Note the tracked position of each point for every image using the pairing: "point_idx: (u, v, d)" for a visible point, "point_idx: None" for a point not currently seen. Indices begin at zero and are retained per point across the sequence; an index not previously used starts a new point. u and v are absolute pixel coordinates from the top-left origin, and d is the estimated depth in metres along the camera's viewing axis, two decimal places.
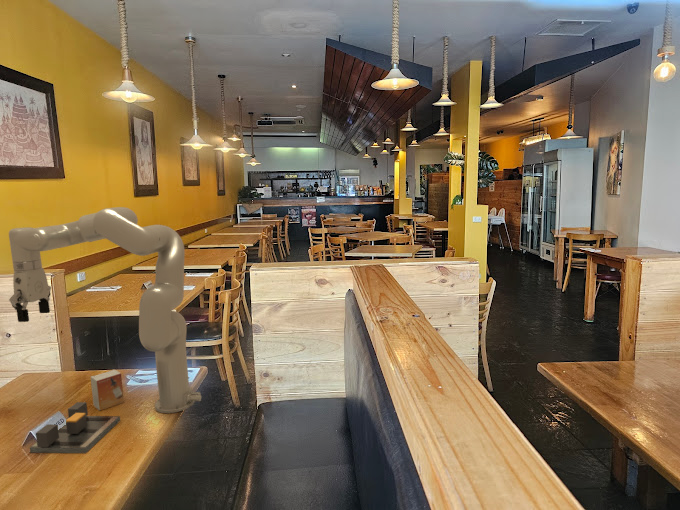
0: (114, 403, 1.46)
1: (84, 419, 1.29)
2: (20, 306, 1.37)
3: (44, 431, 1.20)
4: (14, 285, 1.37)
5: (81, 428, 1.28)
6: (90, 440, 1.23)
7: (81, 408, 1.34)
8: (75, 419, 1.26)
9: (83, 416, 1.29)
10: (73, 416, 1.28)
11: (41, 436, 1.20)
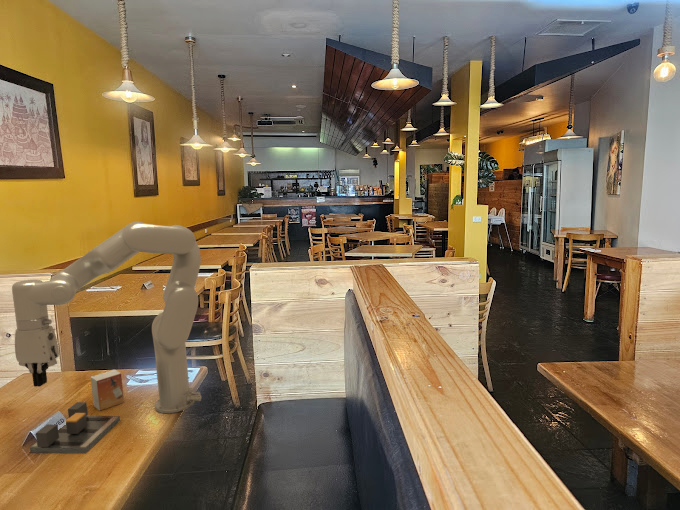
0: (114, 403, 1.46)
1: (84, 419, 1.29)
2: None
3: (44, 431, 1.20)
4: (47, 343, 1.23)
5: (81, 428, 1.28)
6: (90, 440, 1.23)
7: (81, 408, 1.34)
8: (75, 419, 1.26)
9: (83, 416, 1.29)
10: (73, 416, 1.28)
11: (41, 436, 1.20)
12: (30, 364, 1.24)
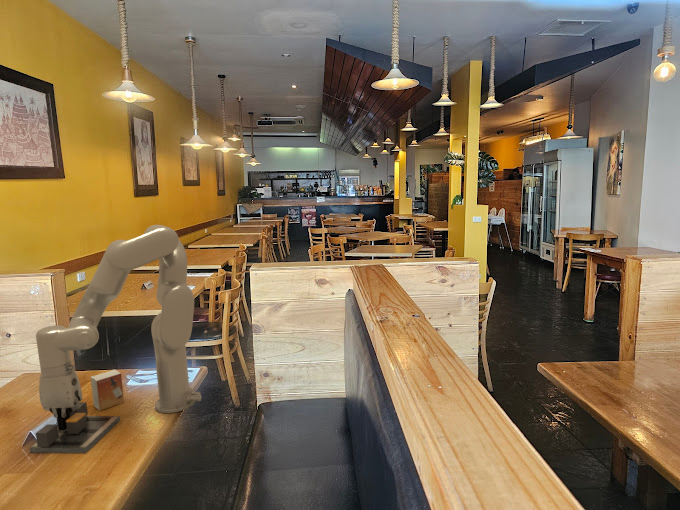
0: (114, 403, 1.46)
1: (84, 419, 1.29)
2: None
3: (44, 431, 1.20)
4: (71, 388, 1.25)
5: (81, 428, 1.28)
6: (90, 440, 1.23)
7: (81, 408, 1.34)
8: (75, 419, 1.26)
9: (83, 416, 1.29)
10: (73, 416, 1.28)
11: (41, 436, 1.20)
12: (54, 409, 1.26)
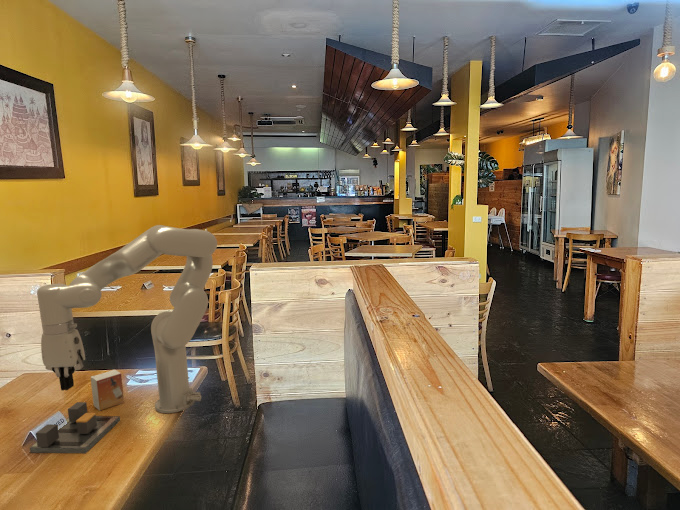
0: (114, 403, 1.46)
1: (94, 419, 1.29)
2: None
3: (44, 431, 1.20)
4: (73, 347, 1.23)
5: (91, 428, 1.28)
6: (90, 440, 1.23)
7: (81, 408, 1.34)
8: (85, 419, 1.26)
9: (93, 416, 1.29)
10: (83, 416, 1.28)
11: (41, 436, 1.20)
12: (57, 368, 1.24)
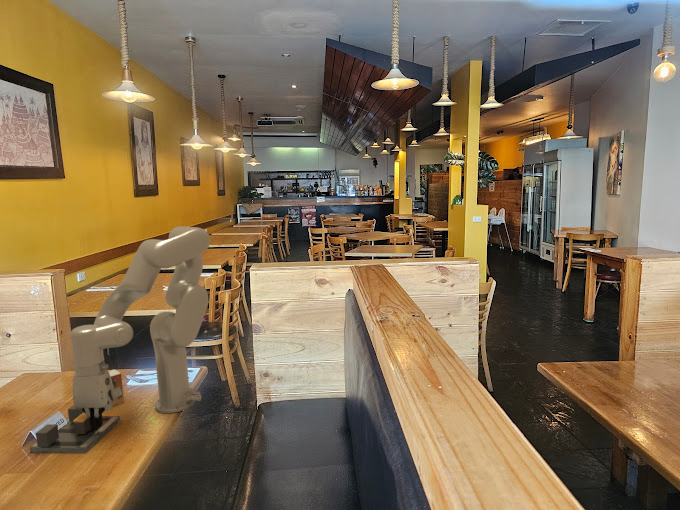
0: (114, 403, 1.46)
1: None
2: None
3: (44, 431, 1.20)
4: (105, 388, 1.24)
5: (88, 428, 1.28)
6: (90, 440, 1.23)
7: None
8: (82, 419, 1.26)
9: None
10: (80, 416, 1.28)
11: (41, 436, 1.20)
12: (87, 408, 1.26)
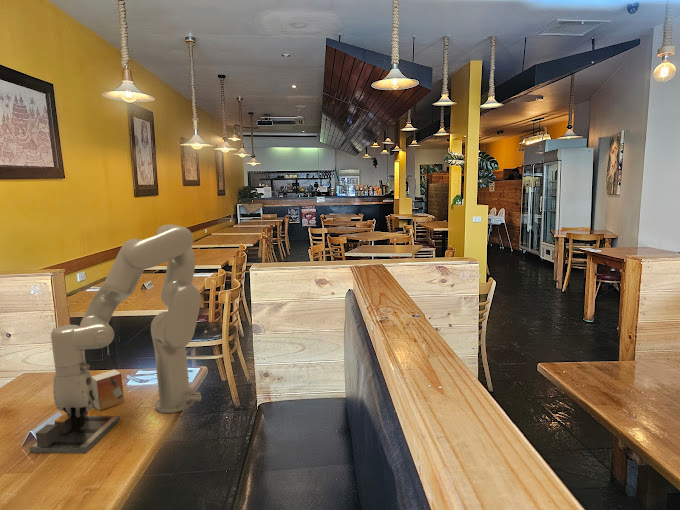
0: (114, 403, 1.46)
1: None
2: None
3: (44, 431, 1.20)
4: (85, 388, 1.25)
5: (70, 428, 1.28)
6: (90, 440, 1.23)
7: None
8: (64, 419, 1.26)
9: None
10: (62, 416, 1.28)
11: (41, 436, 1.20)
12: (68, 408, 1.26)
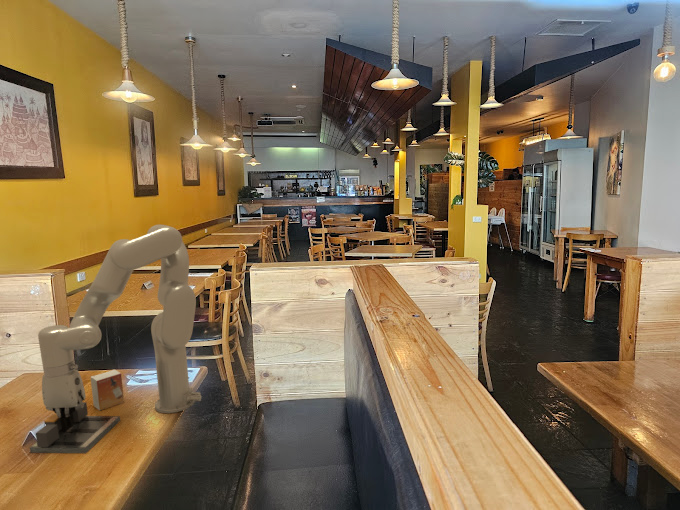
0: (114, 403, 1.46)
1: None
2: None
3: (44, 431, 1.20)
4: (74, 388, 1.25)
5: (60, 428, 1.28)
6: (90, 440, 1.23)
7: None
8: (53, 419, 1.27)
9: None
10: (52, 416, 1.28)
11: (41, 436, 1.20)
12: (58, 409, 1.26)
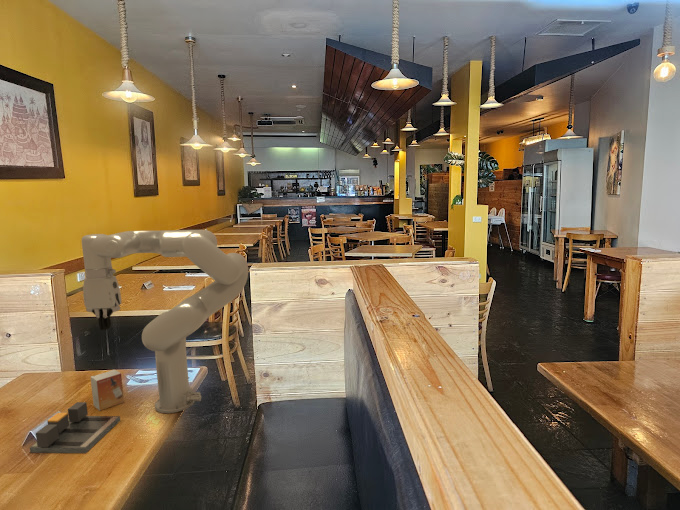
0: (114, 403, 1.46)
1: (66, 419, 1.30)
2: None
3: (44, 431, 1.20)
4: (112, 290, 1.38)
5: (63, 428, 1.28)
6: (90, 440, 1.23)
7: (81, 408, 1.34)
8: (57, 419, 1.27)
9: (65, 416, 1.29)
10: (55, 416, 1.28)
11: (41, 436, 1.20)
12: (97, 310, 1.39)
